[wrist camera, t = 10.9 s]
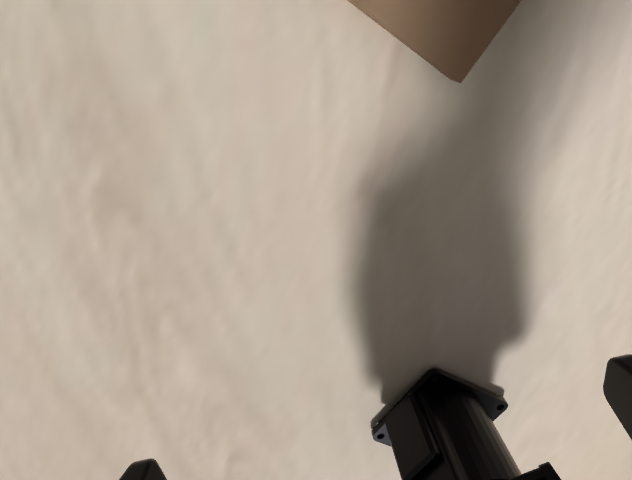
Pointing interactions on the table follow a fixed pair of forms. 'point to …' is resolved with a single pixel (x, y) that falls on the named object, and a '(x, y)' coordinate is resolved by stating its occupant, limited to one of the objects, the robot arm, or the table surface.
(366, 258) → the table surface
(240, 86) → the table surface
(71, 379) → the table surface
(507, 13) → the walnut board
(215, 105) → the table surface
